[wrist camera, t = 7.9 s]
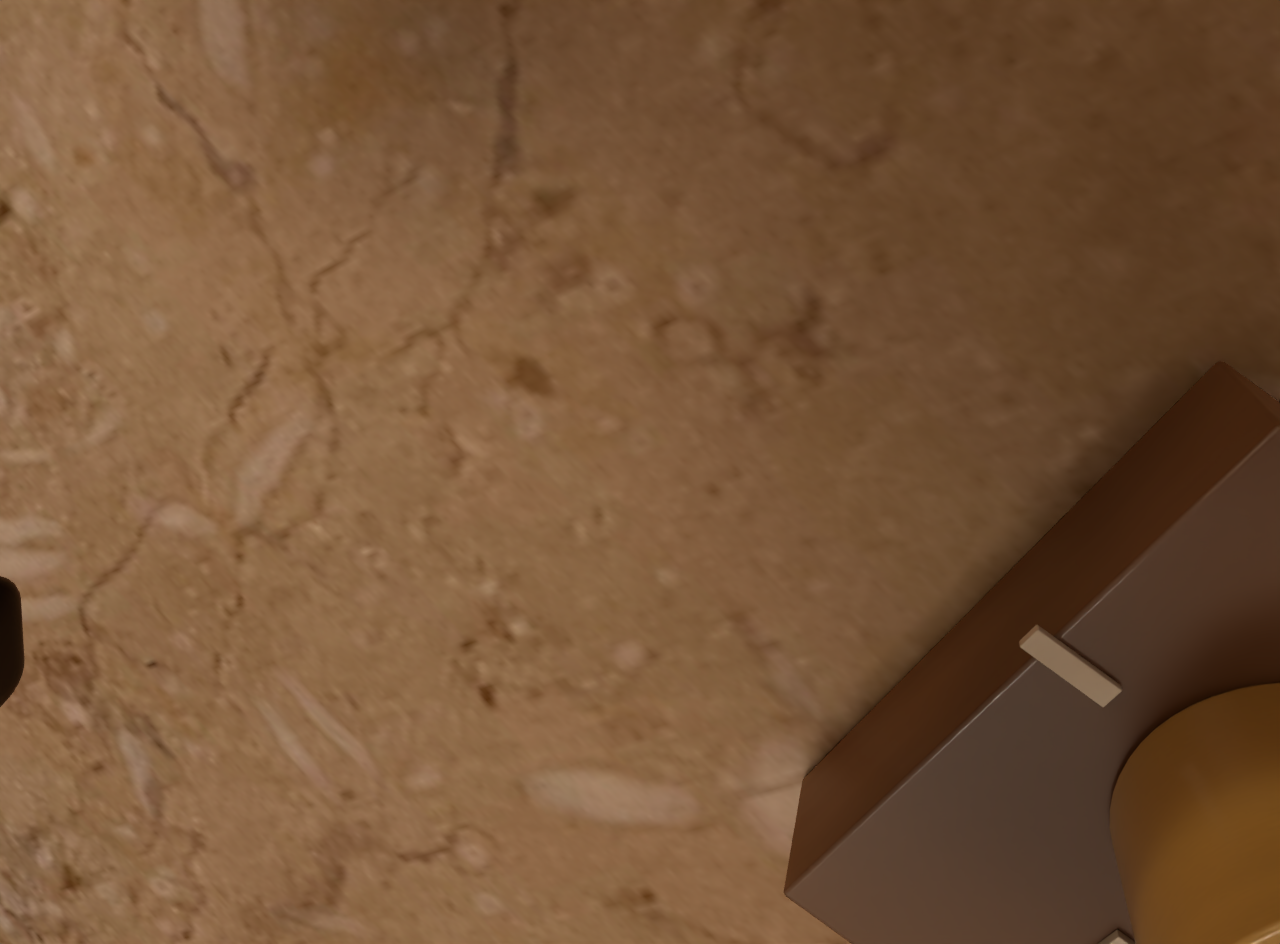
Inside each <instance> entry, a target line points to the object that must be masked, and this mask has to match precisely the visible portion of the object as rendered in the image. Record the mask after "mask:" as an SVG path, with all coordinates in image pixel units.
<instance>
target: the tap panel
mask: <svg viewBox="0 0 1280 944" xmlns="http://www.w3.org/2000/svg"><path fill="white" fill-rule="evenodd" d="M1269 683H1280V402H1278V401H1277V400H1275V399H1274V398H1273V397H1271V396H1270V395H1269V394H1267V393H1266V392H1265V391H1263V390H1262V389H1261V388H1259V387H1258V386H1256V385H1255V384H1254V383H1252V382H1251V381H1250V380H1248V379H1247V378H1246V377H1244V376H1243V375H1241V374H1240V373H1239V372H1237V371H1236V370H1235V369H1233V368H1232V367H1231V366H1229V365H1228V364H1226V363H1225V362H1222V361H1219V362H1217V363H1216V364H1215V365H1214V366H1213V367H1212V368H1211V369H1210V370H1209V371H1208V372H1207V373H1206V374H1205V375H1204V376H1203V377H1202V378H1201V379H1200V380H1199V381H1198V382H1197V383H1196V384H1195V385H1194V386H1193V387H1192V388H1191V389H1190V390H1189V391H1188V392H1187V393H1186V394H1185V395H1184V396H1183V397H1182V398H1181V399H1180V400H1179V401H1178V402H1177V403H1176V404H1175V405H1174V406H1173V407H1172V408H1171V409H1170V410H1169V411H1168V412H1167V413H1166V414H1165V415H1164V416H1163V417H1162V418H1161V419H1160V420H1159V421H1158V422H1157V423H1156V424H1155V425H1154V426H1153V427H1152V428H1151V429H1150V430H1149V431H1148V432H1147V433H1146V434H1145V435H1144V436H1143V437H1142V438H1141V439H1140V440H1139V441H1138V442H1137V443H1136V444H1135V445H1134V446H1133V447H1132V448H1131V449H1130V450H1129V451H1128V452H1127V453H1126V454H1125V455H1124V456H1123V457H1122V458H1121V459H1120V460H1119V461H1118V462H1117V463H1116V464H1115V465H1114V466H1113V467H1112V468H1111V469H1110V470H1109V471H1108V472H1107V473H1106V474H1105V475H1104V476H1103V477H1102V478H1101V479H1100V480H1099V481H1098V482H1097V483H1096V484H1095V485H1094V487H1093V488H1092V489H1091V490H1090V491H1089V492H1088V493H1087V494H1086V495H1085V496H1084V497H1083V498H1082V499H1081V500H1080V501H1079V502H1078V503H1077V504H1076V505H1075V506H1074V507H1073V508H1072V509H1071V510H1070V511H1069V512H1068V513H1067V514H1066V515H1065V516H1064V517H1063V518H1062V519H1061V520H1060V521H1059V522H1058V523H1057V524H1056V525H1055V526H1054V527H1053V528H1052V529H1051V530H1050V531H1049V532H1048V533H1047V534H1046V535H1045V536H1044V537H1043V538H1042V539H1041V540H1040V541H1039V542H1038V543H1037V544H1036V545H1035V546H1034V547H1033V548H1032V549H1031V550H1030V551H1029V552H1028V553H1027V554H1026V555H1025V556H1024V557H1023V558H1022V559H1021V560H1020V561H1019V562H1018V563H1017V564H1016V565H1015V566H1014V567H1013V568H1012V569H1011V570H1010V571H1009V572H1008V573H1007V574H1006V575H1005V576H1004V577H1003V578H1002V579H1001V580H1000V581H999V582H998V583H997V584H996V585H995V586H994V587H993V588H992V589H991V590H990V591H989V592H988V593H987V594H986V595H985V596H984V597H983V598H982V599H981V600H980V601H979V602H978V603H977V604H976V605H975V606H974V607H973V608H972V609H971V610H970V611H969V613H968V614H967V615H966V616H965V617H964V618H963V619H962V620H961V621H960V622H959V623H958V624H957V625H956V626H955V627H954V628H953V629H952V630H951V631H950V632H949V633H948V634H947V635H946V636H945V637H944V638H943V639H942V640H941V641H940V642H939V643H938V644H937V645H936V646H935V647H934V648H933V649H932V650H931V651H930V652H929V653H928V654H927V655H926V656H925V657H924V658H923V659H922V660H921V661H920V662H919V663H918V664H917V665H916V666H915V667H914V668H913V669H912V670H911V671H910V672H909V673H908V674H907V675H906V676H905V677H904V678H903V679H902V680H901V681H900V682H899V683H898V684H897V685H896V686H895V687H894V688H893V689H892V690H891V691H890V692H889V693H888V694H887V695H886V696H885V697H884V698H883V699H882V700H881V701H880V702H879V703H878V704H877V705H876V706H875V707H874V708H873V709H872V710H871V711H870V712H869V713H868V714H867V715H866V716H865V717H864V718H863V719H862V720H861V721H860V722H859V723H858V724H857V725H856V726H855V727H854V728H853V729H852V730H851V731H850V732H849V733H848V734H847V735H846V736H845V738H844V739H843V740H842V741H841V742H840V743H839V744H838V745H837V746H836V747H835V748H834V749H833V750H832V751H831V752H830V753H829V754H828V755H827V756H826V757H825V758H824V759H823V760H822V761H821V762H820V763H819V764H818V765H817V766H816V767H815V768H814V769H813V770H812V771H811V772H810V773H809V774H808V775H807V776H806V777H805V778H804V779H803V781H802V787H801V793H800V799H799V804H798V810H797V816H796V822H795V828H794V834H793V840H792V846H791V852H790V858H789V864H788V870H787V875H786V881H785V887H784V894H785V895H786V897H788V898H789V899H790V900H792V901H793V902H795V903H796V904H797V905H799V906H800V907H802V908H803V909H804V910H806V911H807V912H809V913H810V914H811V915H813V916H814V917H816V918H817V919H818V920H820V921H821V922H822V923H824V924H825V925H827V926H828V927H829V928H831V929H832V930H834V931H835V932H836V933H838V934H839V935H841V936H842V937H843V938H845V939H846V940H847V941H849V942H850V943H852V944H1136V943H1135V938H1134V934H1133V930H1132V926H1131V921H1130V917H1129V913H1128V909H1127V904H1126V900H1125V896H1124V892H1123V887H1122V883H1121V879H1120V875H1119V870H1118V866H1117V862H1116V857H1115V853H1114V849H1113V845H1112V839H1111V833H1110V806H1111V801H1112V795H1113V791H1114V789H1115V786H1116V783H1117V780H1118V778H1119V775H1120V773H1121V772H1122V770H1123V768H1124V766H1125V764H1126V763H1127V761H1128V759H1129V757H1130V756H1131V755H1132V754H1133V752H1134V751H1135V750H1136V748H1137V747H1138V746H1139V745H1140V743H1141V742H1142V741H1143V740H1144V739H1145V738H1146V737H1147V736H1148V735H1149V734H1150V733H1151V732H1152V731H1153V730H1154V729H1156V728H1157V727H1158V726H1160V725H1161V724H1162V723H1164V722H1165V721H1166V720H1168V719H1169V718H1170V717H1172V716H1173V715H1175V714H1177V713H1178V712H1180V711H1182V710H1184V709H1185V708H1187V707H1189V706H1191V705H1193V704H1195V703H1197V702H1200V701H1202V700H1204V699H1207V698H1209V697H1211V696H1214V695H1218V694H1221V693H1224V692H1227V691H1231V690H1234V689H1238V688H1243V687H1248V686H1254V685H1259V684H1269Z"/></svg>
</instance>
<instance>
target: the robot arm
mask: <svg viewBox="0 0 1280 944" xmlns="http://www.w3.org/2000/svg"><path fill="white" fill-rule="evenodd" d="M23 668H24V645H23V628H22V611H21V597H20V592H19V591H18V589H17V587H16V585H15V584H14V583H13V582H11V581H10V580H9V579H7V578H4V577H1V576H0V707H1V706H2V705H3V704H4V702H5V701H6V700H7V699H8V698H9V697H10V695H11V694H12V693H13V692H14V690H15V688H16V687H17V685H18V683H19V681H20V678H21V676H22V673H23Z"/></svg>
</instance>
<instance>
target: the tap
mask: <svg viewBox="0 0 1280 944" xmlns="http://www.w3.org/2000/svg"><path fill="white" fill-rule="evenodd" d="M1110 833H1111V839H1112V845H1113V849H1114V853H1115V857H1116V862H1117V866H1118V870H1119V875H1120V879H1121V883H1122V887H1123V892H1124V896H1125V900H1126V904H1127V909H1128V913H1129V917H1130V921H1131V926H1132V930H1133V934H1134V938H1135V943H1136V944H1280V683H1269V684H1259V685H1254V686H1248V687H1243V688H1238V689H1234V690H1231V691H1227V692H1224V693H1221V694H1218V695H1214V696H1211V697H1209V698H1207V699H1204V700H1202V701H1200V702H1197V703H1195V704H1193V705H1191V706H1189V707H1187V708H1185V709H1184V710H1182V711H1180V712H1178V713H1177V714H1175V715H1173V716H1172V717H1170V718H1169V719H1168V720H1166V721H1165V722H1164V723H1162V724H1161V725H1160V726H1158V727H1157V728H1156V729H1154V730H1153V731H1152V732H1151V733H1150V734H1149V735H1148V736H1147V737H1146V738H1145V739H1144V740H1143V741H1142V742H1141V743H1140V745H1139V746H1138V747H1137V748H1136V750H1135V751H1134V752H1133V754H1132V755H1131V756H1130V757H1129V759H1128V761H1127V763H1126V764H1125V766H1124V768H1123V770H1122V772H1121V773H1120V775H1119V778H1118V780H1117V783H1116V786H1115V789H1114V791H1113V795H1112V801H1111V806H1110Z"/></svg>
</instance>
